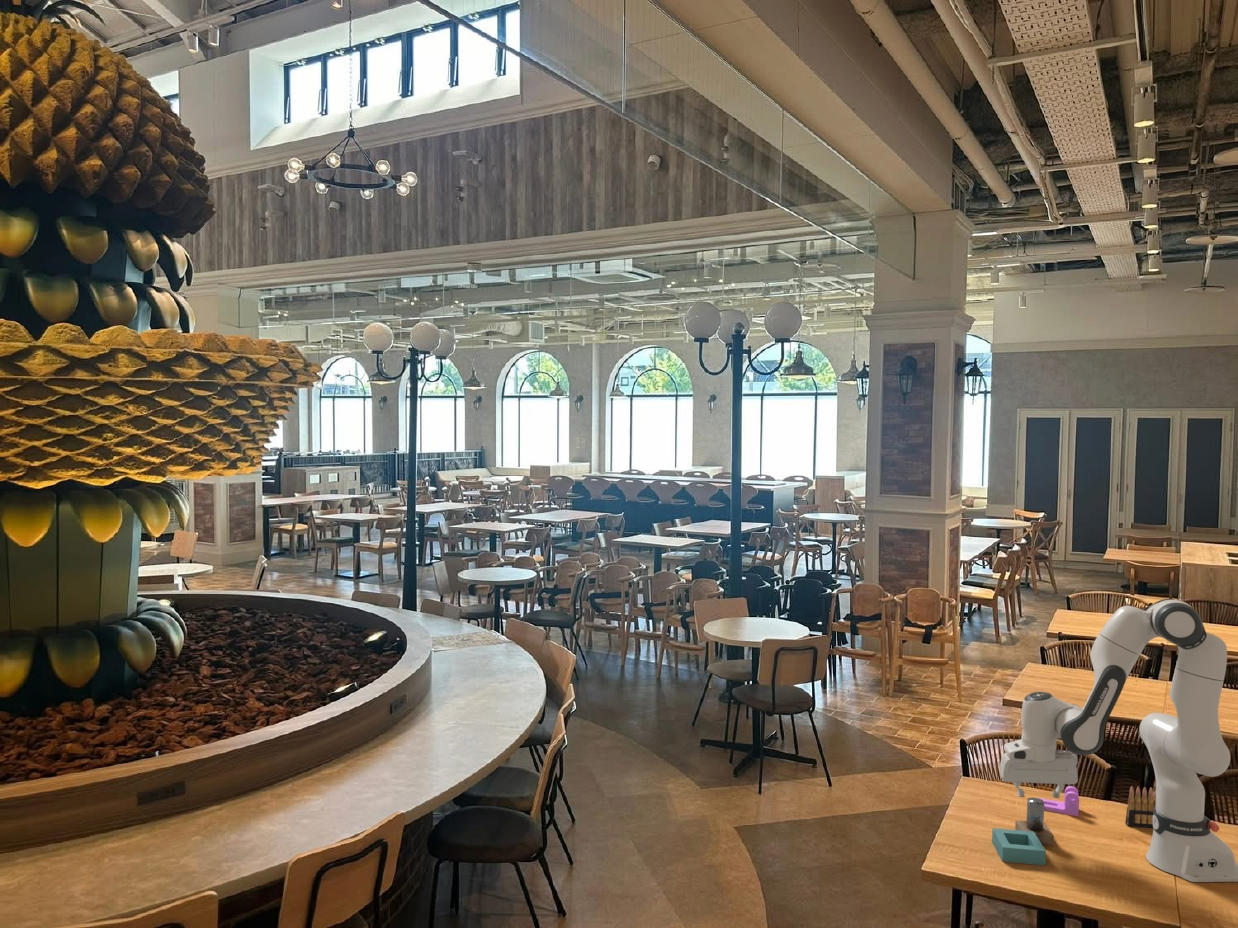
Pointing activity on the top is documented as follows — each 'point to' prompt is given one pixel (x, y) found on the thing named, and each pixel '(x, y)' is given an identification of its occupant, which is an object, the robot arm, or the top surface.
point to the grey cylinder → (1035, 814)
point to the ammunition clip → (1140, 809)
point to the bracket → (1065, 803)
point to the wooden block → (1037, 833)
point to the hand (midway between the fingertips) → (1038, 796)
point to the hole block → (1018, 846)
